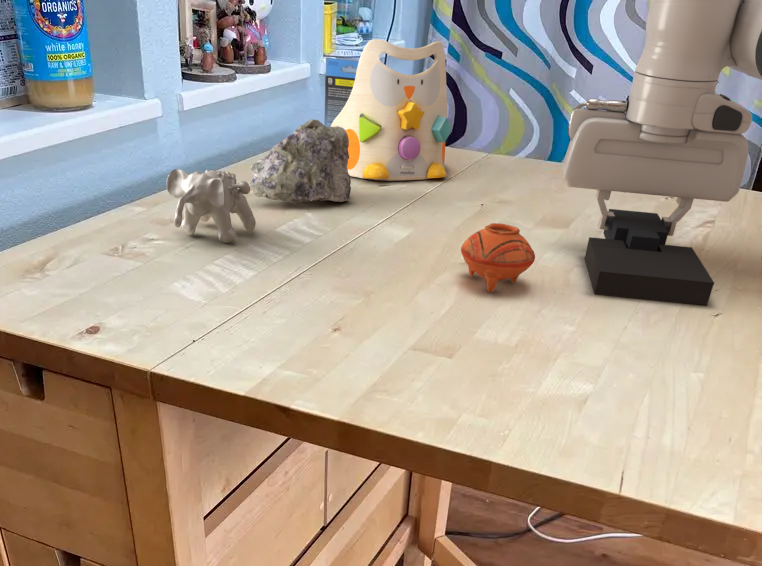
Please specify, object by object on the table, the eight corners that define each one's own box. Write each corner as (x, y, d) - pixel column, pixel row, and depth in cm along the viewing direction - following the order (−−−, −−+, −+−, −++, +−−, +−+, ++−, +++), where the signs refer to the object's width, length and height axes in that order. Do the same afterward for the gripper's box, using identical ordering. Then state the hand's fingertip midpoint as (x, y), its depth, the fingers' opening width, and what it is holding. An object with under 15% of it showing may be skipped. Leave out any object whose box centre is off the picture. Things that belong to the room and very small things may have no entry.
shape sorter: (347, 185, 117) (354, 43, 106) (323, 167, 125) (327, 33, 114) (468, 180, 123) (485, 45, 113) (438, 163, 131) (452, 35, 120)
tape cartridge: (377, 140, 142) (382, 59, 134) (371, 144, 139) (376, 62, 131) (329, 134, 144) (332, 54, 136) (322, 138, 141) (325, 57, 133)
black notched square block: (685, 268, 96) (692, 247, 95) (706, 305, 87) (714, 282, 85) (584, 258, 97) (589, 237, 95) (594, 294, 88) (599, 271, 86)
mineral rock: (248, 207, 106) (245, 122, 100) (262, 186, 114) (261, 107, 108) (345, 215, 105) (349, 131, 99) (352, 193, 114) (356, 114, 108)
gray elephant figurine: (259, 227, 99) (258, 160, 95) (242, 260, 90) (239, 187, 85) (185, 221, 99) (180, 154, 95) (159, 253, 90) (153, 180, 85)
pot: (440, 281, 87) (454, 215, 84) (475, 281, 93) (490, 219, 90) (504, 299, 83) (521, 230, 80) (537, 298, 89) (554, 234, 86)
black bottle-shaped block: (650, 237, 102) (657, 213, 101) (665, 265, 94) (672, 239, 92) (603, 233, 103) (609, 208, 101) (613, 260, 94) (619, 234, 92)
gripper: (576, 101, 88) (551, 230, 97) (768, 118, 87) (725, 247, 95) (572, 92, 93) (548, 215, 102) (753, 107, 92) (713, 231, 100)
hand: (635, 231), depth 98 cm, fingers closed on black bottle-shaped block, 6 cm apart
